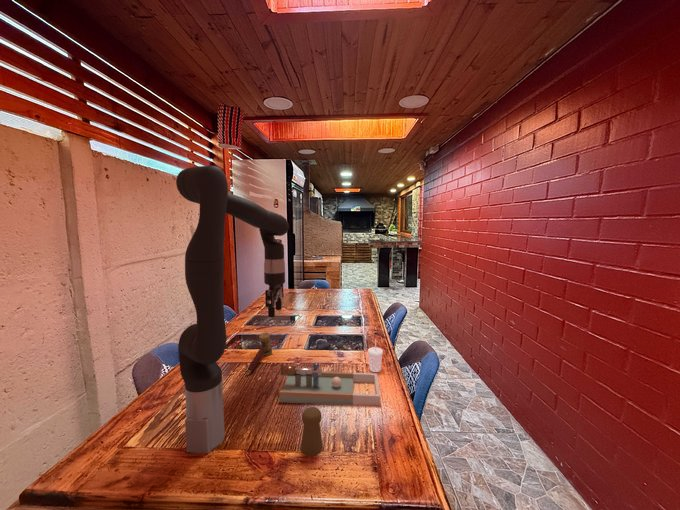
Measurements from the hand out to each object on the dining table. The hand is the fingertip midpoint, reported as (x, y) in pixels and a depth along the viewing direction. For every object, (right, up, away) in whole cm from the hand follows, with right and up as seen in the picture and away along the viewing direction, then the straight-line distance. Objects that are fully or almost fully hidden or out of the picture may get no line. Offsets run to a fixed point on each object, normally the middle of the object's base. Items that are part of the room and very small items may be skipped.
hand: (275, 313), depth 103 cm
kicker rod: (+10, -25, -3) cm, 27 cm away
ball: (+23, -24, -4) cm, 33 cm away
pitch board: (+21, -28, -4) cm, 35 cm away
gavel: (-11, -27, +17) cm, 34 cm away
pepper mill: (+17, -31, -28) cm, 45 cm away
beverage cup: (+39, -27, +11) cm, 49 cm away
